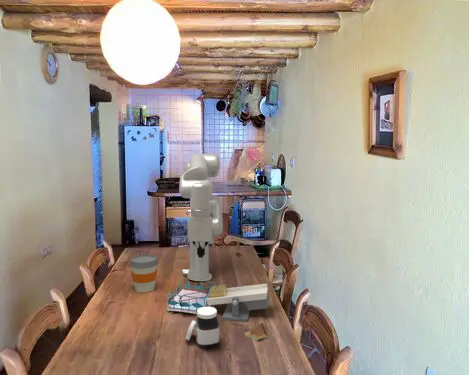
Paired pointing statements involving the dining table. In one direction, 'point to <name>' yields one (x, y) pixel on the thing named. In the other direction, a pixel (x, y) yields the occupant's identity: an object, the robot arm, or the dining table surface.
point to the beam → (245, 296)
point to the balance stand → (236, 310)
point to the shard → (257, 332)
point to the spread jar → (205, 327)
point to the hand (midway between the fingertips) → (201, 256)
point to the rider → (218, 291)
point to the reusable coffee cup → (144, 272)
